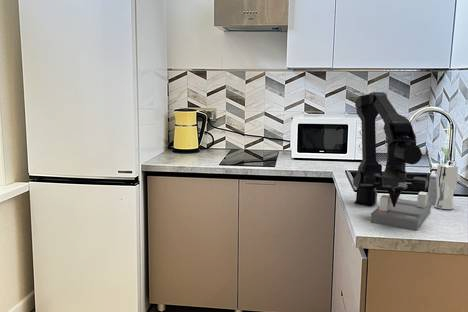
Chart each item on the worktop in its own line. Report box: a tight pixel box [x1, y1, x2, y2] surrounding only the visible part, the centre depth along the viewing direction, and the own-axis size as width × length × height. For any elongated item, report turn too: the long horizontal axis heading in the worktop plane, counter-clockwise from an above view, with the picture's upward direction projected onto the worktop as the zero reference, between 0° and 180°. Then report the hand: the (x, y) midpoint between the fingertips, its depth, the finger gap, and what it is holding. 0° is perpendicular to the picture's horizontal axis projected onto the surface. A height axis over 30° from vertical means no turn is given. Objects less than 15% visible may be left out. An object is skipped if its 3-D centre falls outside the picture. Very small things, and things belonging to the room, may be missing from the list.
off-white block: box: [416, 191, 428, 208], centre depth 155 cm, size 2×4×4 cm, turn 148°
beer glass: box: [433, 164, 459, 210], centre depth 164 cm, size 7×7×15 cm
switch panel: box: [370, 198, 432, 231], centre depth 153 cm, size 14×24×3 cm, turn 148°
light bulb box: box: [427, 170, 437, 205], centre depth 173 cm, size 11×7×11 cm, turn 153°
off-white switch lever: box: [378, 194, 391, 212], centre depth 150 cm, size 2×4×4 cm, turn 148°
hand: (394, 207), depth 148 cm, fingers closed
